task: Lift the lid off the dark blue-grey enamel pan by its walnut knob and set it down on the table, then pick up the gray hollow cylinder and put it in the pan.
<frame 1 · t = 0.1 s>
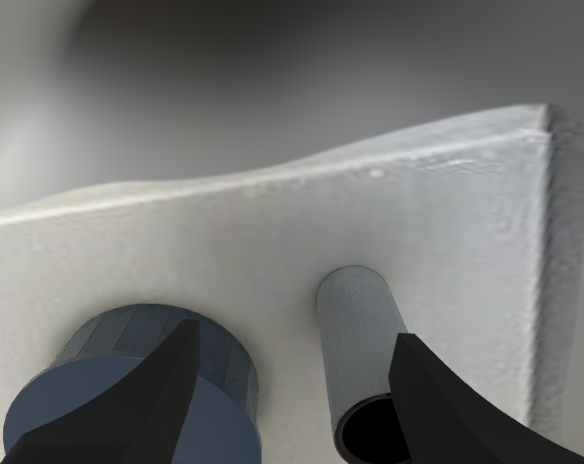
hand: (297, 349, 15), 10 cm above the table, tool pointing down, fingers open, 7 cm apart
gray hollow cylinder: (352, 295, 27), on the table
pan lid: (137, 450, 24), point 5 cm above the table, touching pan
pan: (160, 386, 29), on the table
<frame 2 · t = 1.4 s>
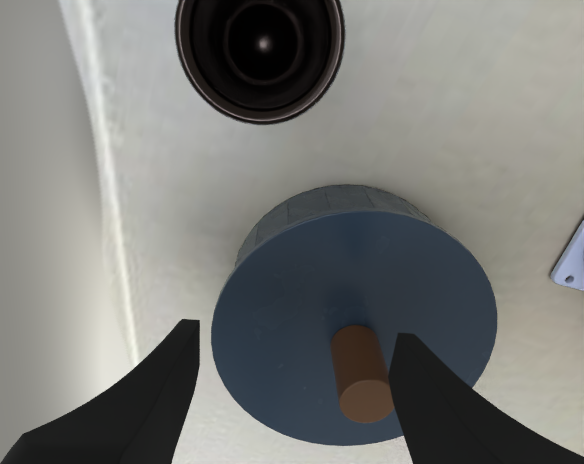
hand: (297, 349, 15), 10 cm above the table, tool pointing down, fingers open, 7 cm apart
gray hollow cylinder: (263, 43, 21), on the table
pan lid: (352, 337, 22), point 5 cm above the table, touching pan
pan: (340, 287, 26), on the table
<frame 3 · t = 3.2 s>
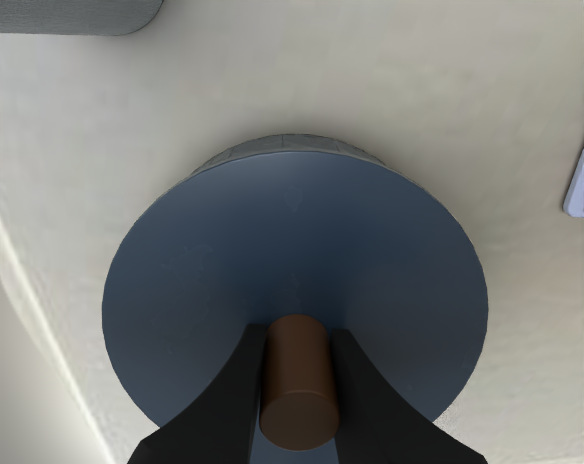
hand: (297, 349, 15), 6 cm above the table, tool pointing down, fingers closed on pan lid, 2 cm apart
pan lid: (295, 332, 16), point 5 cm above the table, touching gripper, pan
pan: (293, 269, 21), on the table
when the fingers open (2 cm above the table, at t = 7.8 s): pan lid stays where it is, point 1 cm above the table.
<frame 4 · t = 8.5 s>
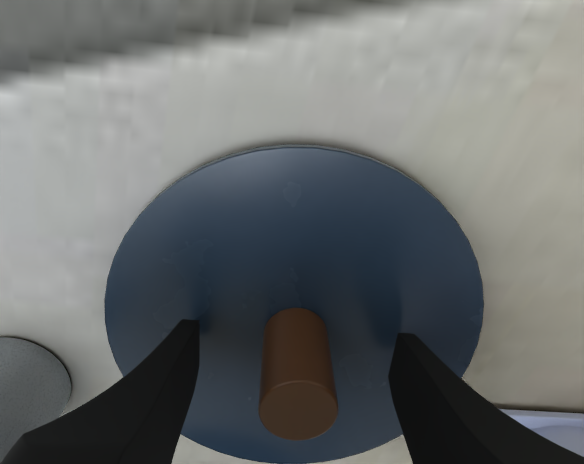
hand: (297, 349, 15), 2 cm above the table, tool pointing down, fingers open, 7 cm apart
gray hollow cylinder: (20, 375, 18), on the table
pan lid: (295, 325, 17), point 1 cm above the table
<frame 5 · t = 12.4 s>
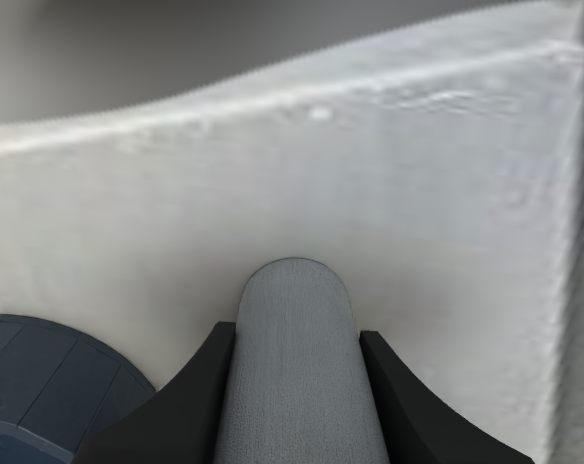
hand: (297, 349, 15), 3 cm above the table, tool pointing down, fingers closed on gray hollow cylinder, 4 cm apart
gray hollow cylinder: (294, 301, 18), on the table, touching gripper
pan: (32, 428, 21), on the table
when the fingers open (3 cm above the table, at t = 17.8 s): gray hollow cylinder stays where it is, resting on pan.
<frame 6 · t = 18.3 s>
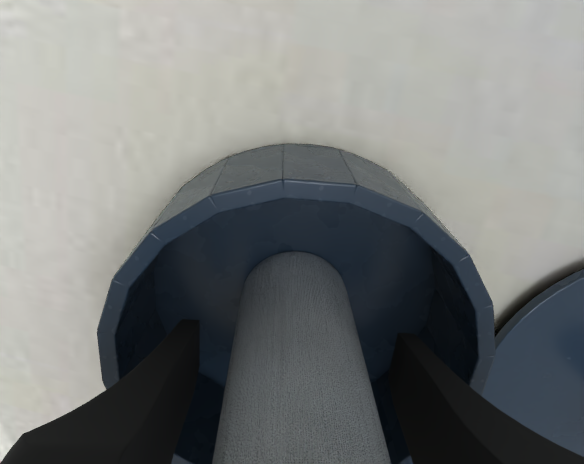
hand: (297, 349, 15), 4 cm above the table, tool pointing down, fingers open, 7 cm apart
gray hollow cylinder: (293, 294, 19), resting on pan
pan: (294, 291, 19), on the table
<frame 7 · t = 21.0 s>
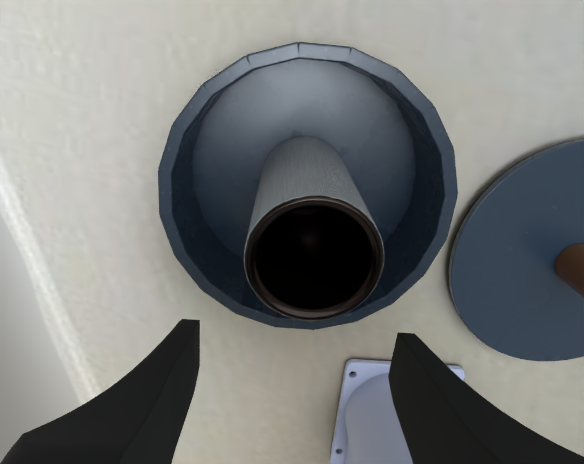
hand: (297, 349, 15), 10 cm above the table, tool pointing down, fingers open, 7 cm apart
gray hollow cylinder: (303, 176, 23), resting on pan
pan lid: (569, 258, 25), point 1 cm above the table
pan: (303, 176, 24), on the table
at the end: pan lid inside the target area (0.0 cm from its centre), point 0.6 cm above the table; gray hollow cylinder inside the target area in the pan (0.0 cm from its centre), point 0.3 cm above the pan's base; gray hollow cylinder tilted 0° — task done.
